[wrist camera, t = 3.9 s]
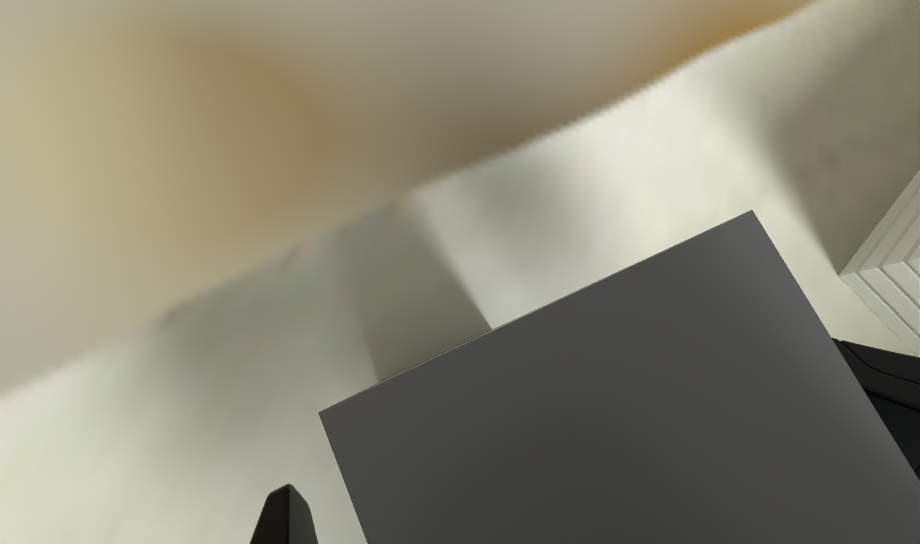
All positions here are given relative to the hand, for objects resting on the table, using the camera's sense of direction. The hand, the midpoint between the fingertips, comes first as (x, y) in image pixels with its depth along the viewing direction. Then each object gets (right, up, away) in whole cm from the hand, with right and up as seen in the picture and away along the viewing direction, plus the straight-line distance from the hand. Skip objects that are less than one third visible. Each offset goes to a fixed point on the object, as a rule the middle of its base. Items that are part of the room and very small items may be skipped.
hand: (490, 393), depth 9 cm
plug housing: (-1, -3, +6) cm, 7 cm away
